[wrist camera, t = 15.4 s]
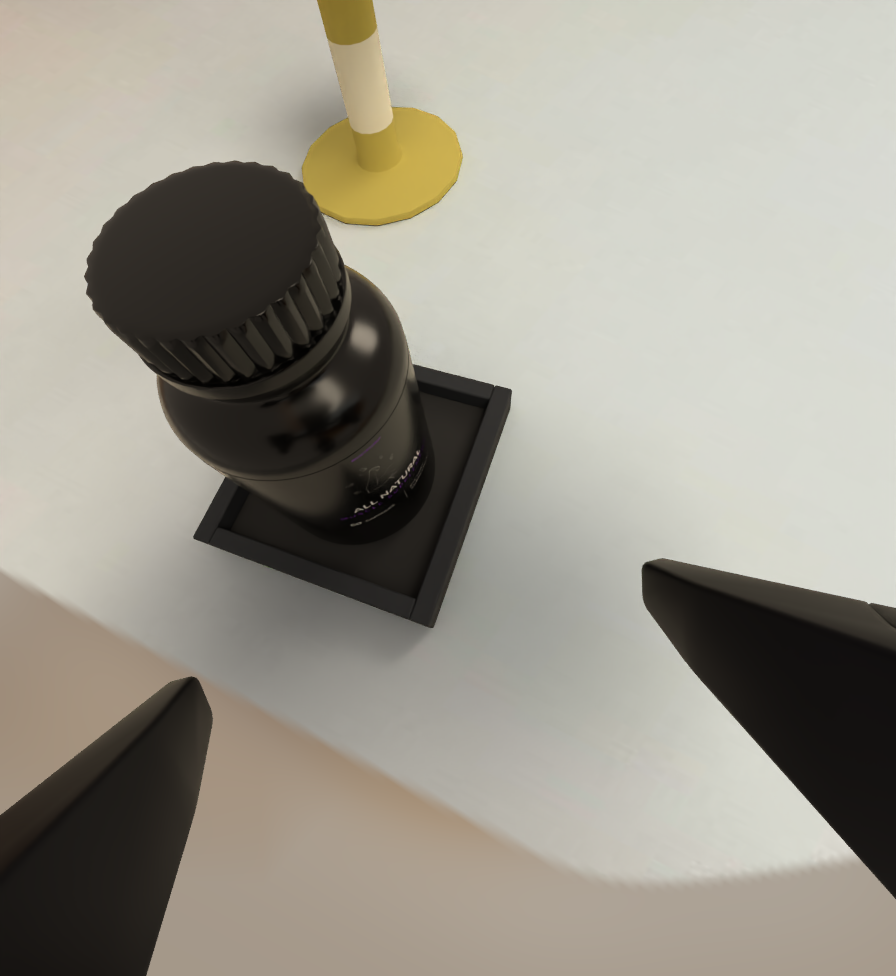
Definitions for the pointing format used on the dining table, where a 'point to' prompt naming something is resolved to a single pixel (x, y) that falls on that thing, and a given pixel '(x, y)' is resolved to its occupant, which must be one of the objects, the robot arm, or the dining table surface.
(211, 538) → the dock pad
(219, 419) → the supplement bottle
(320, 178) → the candle
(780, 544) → the dining table surface
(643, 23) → the dining table surface
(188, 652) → the dining table surface
